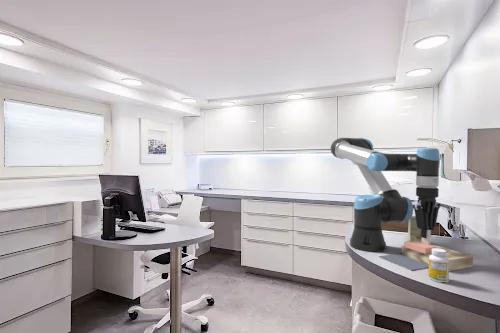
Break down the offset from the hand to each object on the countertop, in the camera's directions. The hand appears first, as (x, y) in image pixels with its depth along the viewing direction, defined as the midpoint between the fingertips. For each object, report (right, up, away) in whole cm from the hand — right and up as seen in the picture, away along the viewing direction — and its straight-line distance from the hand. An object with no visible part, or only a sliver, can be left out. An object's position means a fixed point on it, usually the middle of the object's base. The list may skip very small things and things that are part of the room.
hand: (425, 245), depth 109 cm
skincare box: (+11, -5, +24) cm, 27 cm away
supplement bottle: (-9, -5, -20) cm, 23 cm away
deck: (+2, -5, -3) cm, 6 cm away
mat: (-11, -5, -4) cm, 13 cm away
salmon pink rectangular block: (-3, -1, -2) cm, 4 cm away
